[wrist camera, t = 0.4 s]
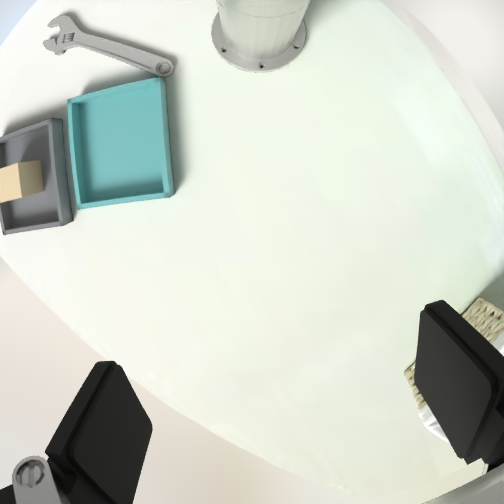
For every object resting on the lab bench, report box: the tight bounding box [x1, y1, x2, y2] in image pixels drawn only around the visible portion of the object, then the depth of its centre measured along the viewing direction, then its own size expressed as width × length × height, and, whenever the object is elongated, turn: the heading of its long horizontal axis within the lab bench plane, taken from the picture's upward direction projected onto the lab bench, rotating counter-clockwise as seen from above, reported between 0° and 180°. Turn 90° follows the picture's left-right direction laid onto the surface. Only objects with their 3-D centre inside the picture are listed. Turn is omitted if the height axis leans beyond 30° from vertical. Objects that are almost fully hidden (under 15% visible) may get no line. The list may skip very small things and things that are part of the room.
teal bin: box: [68, 77, 175, 210], centre depth 38 cm, size 16×14×3 cm
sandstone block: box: [0, 160, 44, 203], centre depth 37 cm, size 5×5×6 cm
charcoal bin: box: [0, 118, 73, 235], centre depth 39 cm, size 16×14×3 cm
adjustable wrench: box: [43, 15, 174, 78], centre depth 35 cm, size 25×6×2 cm, turn 57°
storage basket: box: [404, 297, 504, 443], centre depth 45 cm, size 24×16×15 cm
